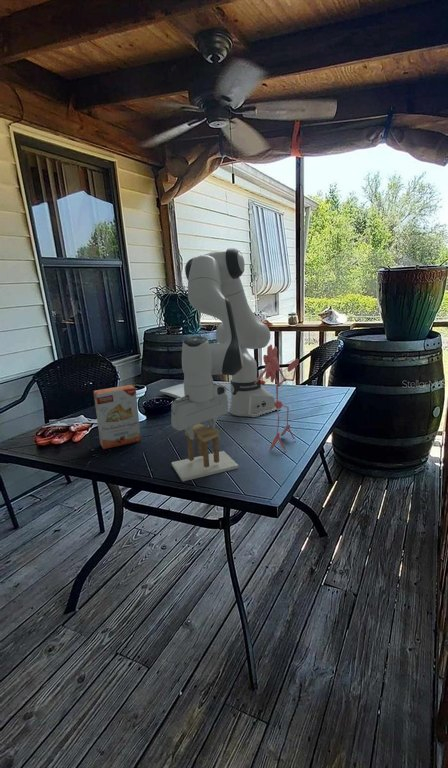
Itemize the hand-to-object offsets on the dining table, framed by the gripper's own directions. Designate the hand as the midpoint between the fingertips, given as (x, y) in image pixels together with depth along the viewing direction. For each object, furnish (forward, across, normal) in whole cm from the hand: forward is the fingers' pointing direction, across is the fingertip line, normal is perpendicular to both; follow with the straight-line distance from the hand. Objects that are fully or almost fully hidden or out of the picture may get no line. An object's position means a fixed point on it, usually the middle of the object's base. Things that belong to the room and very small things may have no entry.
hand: (202, 435), depth 124 cm
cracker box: (+11, -7, +38) cm, 41 cm away
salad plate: (+11, +49, +68) cm, 85 cm away
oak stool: (+9, 0, 0) cm, 9 cm away
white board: (+11, 0, 0) cm, 11 cm away
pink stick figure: (+11, +27, -5) cm, 30 cm away
